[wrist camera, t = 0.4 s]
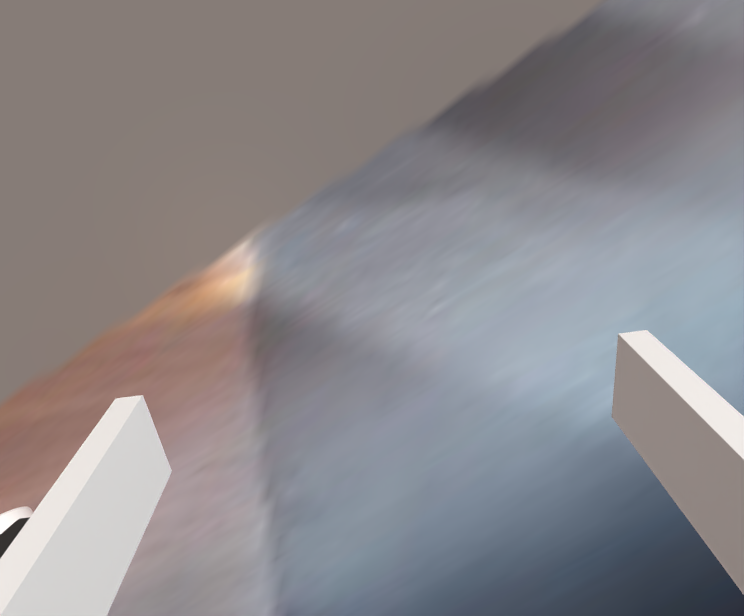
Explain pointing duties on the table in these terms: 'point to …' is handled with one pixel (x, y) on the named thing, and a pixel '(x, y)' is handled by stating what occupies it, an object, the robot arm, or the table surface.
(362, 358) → the table surface
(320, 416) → the table surface
